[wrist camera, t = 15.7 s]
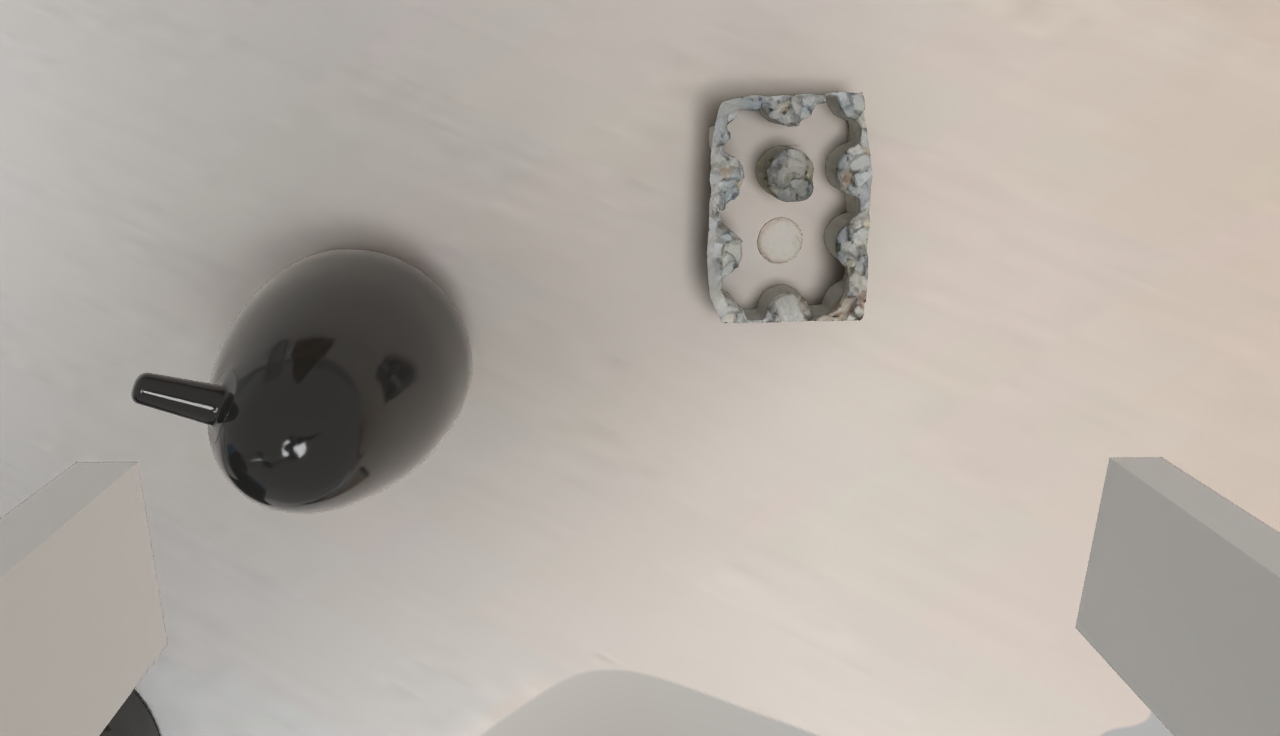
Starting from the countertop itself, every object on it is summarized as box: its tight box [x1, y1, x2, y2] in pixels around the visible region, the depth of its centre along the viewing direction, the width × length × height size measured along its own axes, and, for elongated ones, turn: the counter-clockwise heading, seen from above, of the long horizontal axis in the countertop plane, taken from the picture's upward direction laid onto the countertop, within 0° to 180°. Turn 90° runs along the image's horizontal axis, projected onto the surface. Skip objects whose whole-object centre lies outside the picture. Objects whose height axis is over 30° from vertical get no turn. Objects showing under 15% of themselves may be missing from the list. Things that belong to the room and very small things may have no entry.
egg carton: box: [707, 92, 872, 323], centre depth 41 cm, size 11×8×4 cm
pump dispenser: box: [131, 249, 472, 514], centre depth 36 cm, size 10×10×15 cm
